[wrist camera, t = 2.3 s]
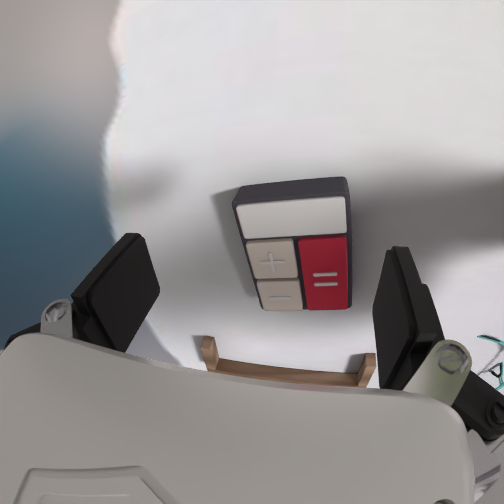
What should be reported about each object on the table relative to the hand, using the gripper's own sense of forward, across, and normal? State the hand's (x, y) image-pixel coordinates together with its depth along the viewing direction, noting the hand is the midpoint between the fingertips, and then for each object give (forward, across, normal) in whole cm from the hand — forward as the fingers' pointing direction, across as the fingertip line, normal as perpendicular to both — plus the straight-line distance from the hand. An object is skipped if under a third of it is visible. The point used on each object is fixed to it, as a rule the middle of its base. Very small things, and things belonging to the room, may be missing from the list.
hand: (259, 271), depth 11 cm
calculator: (+20, -1, +11) cm, 23 cm away
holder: (+19, 0, +33) cm, 38 cm away
